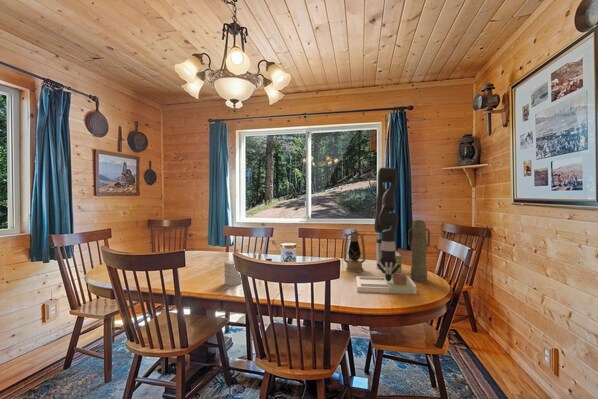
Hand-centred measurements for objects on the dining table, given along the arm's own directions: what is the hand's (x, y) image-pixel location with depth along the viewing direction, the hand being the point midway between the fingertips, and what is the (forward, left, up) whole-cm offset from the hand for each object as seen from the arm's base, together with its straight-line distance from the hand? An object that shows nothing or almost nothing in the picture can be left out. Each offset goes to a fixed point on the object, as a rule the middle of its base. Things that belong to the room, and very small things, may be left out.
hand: (388, 280), depth 162 cm
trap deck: (0, -2, -4) cm, 4 cm away
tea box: (-21, +5, -4) cm, 22 cm away
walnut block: (+1, +6, -1) cm, 6 cm away
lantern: (-36, -17, -4) cm, 40 cm away
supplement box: (+5, -87, -4) cm, 87 cm away
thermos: (-17, +20, -4) cm, 27 cm away
